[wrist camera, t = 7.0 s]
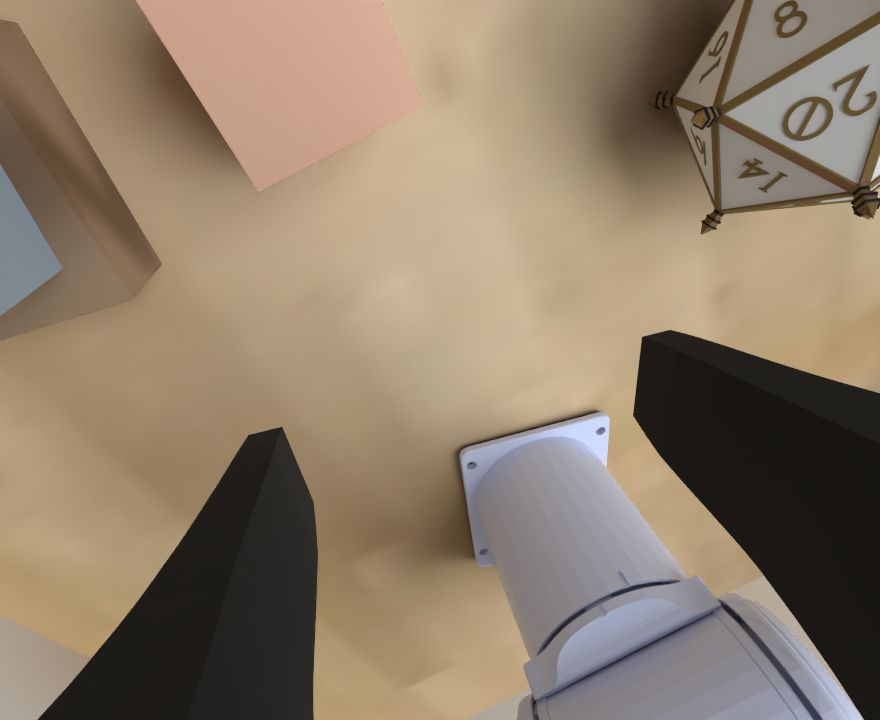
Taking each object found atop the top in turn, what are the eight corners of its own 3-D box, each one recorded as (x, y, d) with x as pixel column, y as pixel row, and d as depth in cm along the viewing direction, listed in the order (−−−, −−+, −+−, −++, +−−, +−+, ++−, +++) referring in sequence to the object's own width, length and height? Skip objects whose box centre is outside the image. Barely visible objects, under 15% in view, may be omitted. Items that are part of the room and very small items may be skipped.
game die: (651, 136, 22) (691, 326, 18) (615, -66, 15) (665, 164, 11) (909, 42, 18) (1041, 261, 14) (1015, -290, 11) (1340, -60, 7)
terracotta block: (394, 98, 16) (423, 106, 11) (273, 161, 16) (258, 192, 11) (322, -72, 13) (326, -143, 9) (179, 4, 13) (117, -29, 9)
